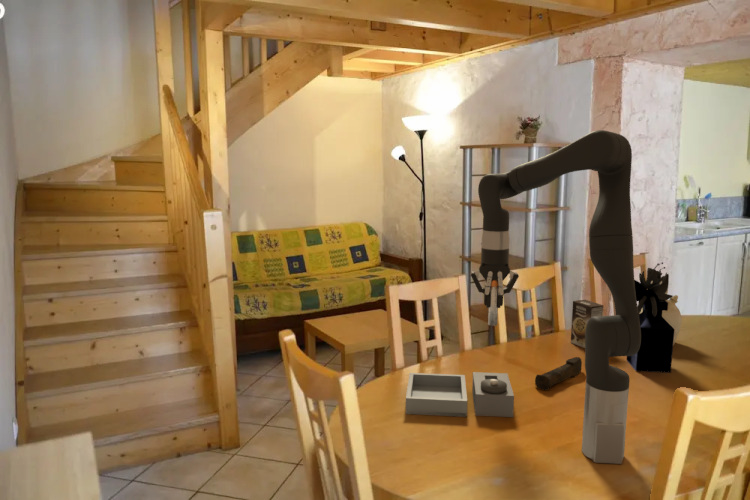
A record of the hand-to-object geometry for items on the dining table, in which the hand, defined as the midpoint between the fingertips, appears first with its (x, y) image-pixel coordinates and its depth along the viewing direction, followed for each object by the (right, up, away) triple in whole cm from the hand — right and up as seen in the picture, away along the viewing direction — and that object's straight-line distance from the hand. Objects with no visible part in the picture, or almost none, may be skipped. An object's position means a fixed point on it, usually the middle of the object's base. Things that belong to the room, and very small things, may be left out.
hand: (493, 306), depth 161 cm
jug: (+72, -19, +53) cm, 91 cm away
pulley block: (0, -27, +1) cm, 27 cm away
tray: (-16, -27, +2) cm, 31 cm away
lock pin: (0, -5, +1) cm, 5 cm away
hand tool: (+24, -25, +18) cm, 39 cm away
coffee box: (+44, -19, +50) cm, 70 cm away
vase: (+57, -23, +29) cm, 68 cm away
